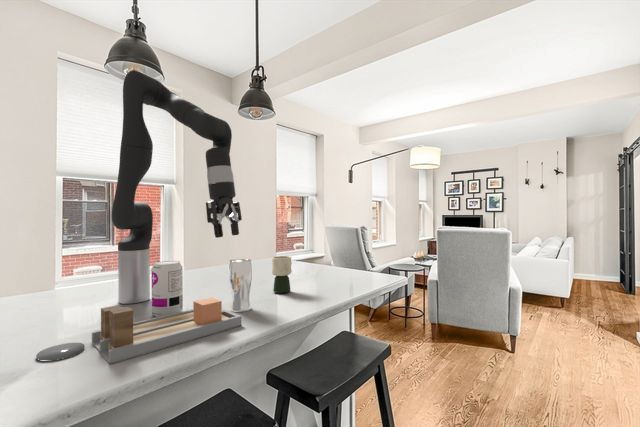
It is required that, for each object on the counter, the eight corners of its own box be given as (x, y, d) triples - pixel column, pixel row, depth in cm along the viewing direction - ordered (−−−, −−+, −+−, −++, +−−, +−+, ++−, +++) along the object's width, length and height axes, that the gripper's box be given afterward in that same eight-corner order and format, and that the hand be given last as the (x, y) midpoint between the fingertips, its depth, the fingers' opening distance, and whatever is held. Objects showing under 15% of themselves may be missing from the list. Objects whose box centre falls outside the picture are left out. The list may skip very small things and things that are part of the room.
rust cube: (193, 321, 82) (193, 301, 82) (212, 316, 86) (211, 297, 86) (202, 325, 79) (202, 305, 79) (221, 320, 82) (221, 301, 82)
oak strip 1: (100, 340, 74) (99, 307, 74) (207, 314, 93) (207, 287, 93) (106, 347, 70) (106, 312, 70) (217, 318, 89) (217, 290, 89)
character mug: (298, 293, 118) (298, 257, 118) (281, 297, 113) (281, 259, 113) (282, 288, 126) (282, 254, 126) (266, 291, 122) (265, 256, 122)
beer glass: (246, 313, 95) (246, 262, 95) (224, 312, 96) (224, 261, 96) (255, 306, 102) (255, 258, 102) (235, 305, 103) (234, 258, 103)
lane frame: (91, 342, 74) (91, 332, 74) (212, 313, 95) (212, 304, 95) (110, 364, 63) (109, 351, 63) (241, 325, 85) (241, 316, 85)
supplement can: (151, 320, 90) (151, 265, 89) (151, 312, 97) (151, 261, 97) (183, 315, 93) (183, 263, 93) (181, 308, 101) (181, 259, 101)
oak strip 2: (108, 349, 69) (108, 309, 69) (220, 320, 88) (220, 288, 88) (115, 357, 65) (115, 314, 65) (231, 324, 84) (230, 291, 84)
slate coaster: (34, 353, 69) (34, 350, 69) (80, 342, 74) (80, 339, 74) (38, 365, 63) (38, 362, 63) (88, 352, 69) (88, 349, 69)
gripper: (224, 186, 106) (230, 236, 105) (194, 182, 92) (201, 239, 92) (244, 182, 103) (250, 233, 103) (217, 178, 90) (224, 236, 89)
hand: (227, 236), depth 97 cm, fingers open, 8 cm apart
